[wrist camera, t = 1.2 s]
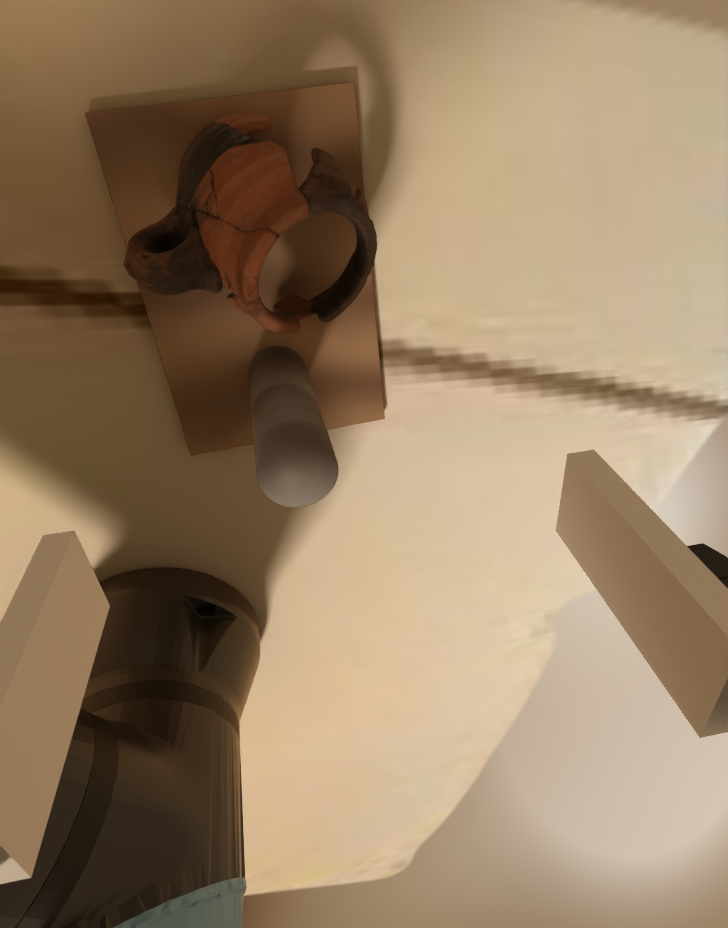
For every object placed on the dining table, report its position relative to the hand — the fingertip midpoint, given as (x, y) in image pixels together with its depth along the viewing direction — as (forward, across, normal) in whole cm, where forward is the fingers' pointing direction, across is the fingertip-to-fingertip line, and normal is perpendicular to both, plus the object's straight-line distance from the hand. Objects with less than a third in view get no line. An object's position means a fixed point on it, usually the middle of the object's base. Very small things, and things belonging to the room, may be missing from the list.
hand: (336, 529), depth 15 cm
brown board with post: (+22, +2, -1) cm, 22 cm away
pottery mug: (+21, +2, -4) cm, 22 cm away
